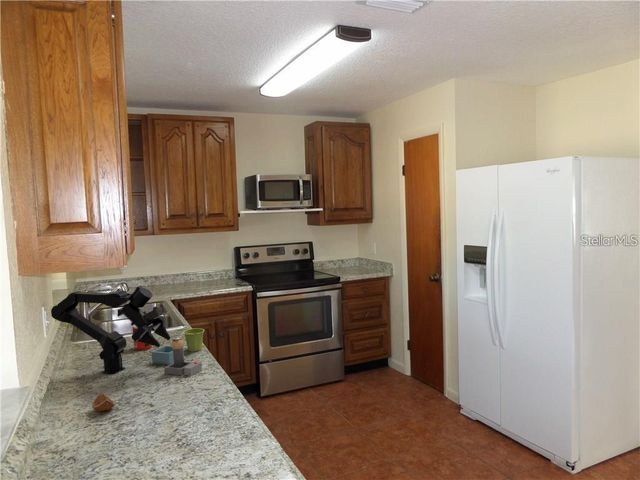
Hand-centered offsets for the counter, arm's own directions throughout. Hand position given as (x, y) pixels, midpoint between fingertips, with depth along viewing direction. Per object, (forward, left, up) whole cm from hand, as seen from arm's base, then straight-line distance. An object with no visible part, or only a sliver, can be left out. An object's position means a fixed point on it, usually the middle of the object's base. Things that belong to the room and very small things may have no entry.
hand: (164, 342), depth 188 cm
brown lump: (-36, -4, -12) cm, 38 cm away
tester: (+1, -7, -12) cm, 14 cm away
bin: (+10, +8, -12) cm, 17 cm away
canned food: (+22, +32, -12) cm, 41 cm away
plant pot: (+26, +6, -12) cm, 29 cm away
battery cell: (+1, -5, -12) cm, 13 cm away
